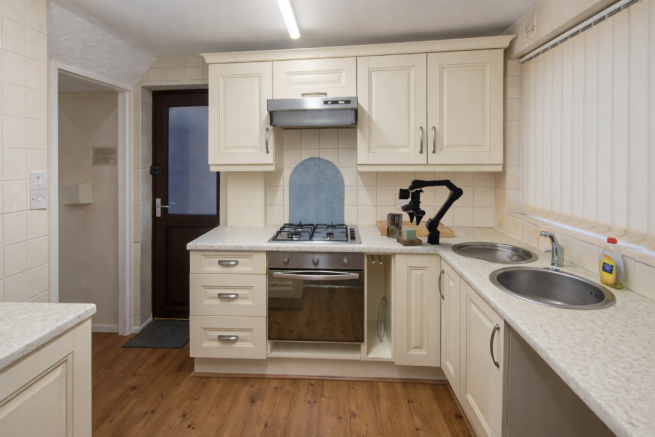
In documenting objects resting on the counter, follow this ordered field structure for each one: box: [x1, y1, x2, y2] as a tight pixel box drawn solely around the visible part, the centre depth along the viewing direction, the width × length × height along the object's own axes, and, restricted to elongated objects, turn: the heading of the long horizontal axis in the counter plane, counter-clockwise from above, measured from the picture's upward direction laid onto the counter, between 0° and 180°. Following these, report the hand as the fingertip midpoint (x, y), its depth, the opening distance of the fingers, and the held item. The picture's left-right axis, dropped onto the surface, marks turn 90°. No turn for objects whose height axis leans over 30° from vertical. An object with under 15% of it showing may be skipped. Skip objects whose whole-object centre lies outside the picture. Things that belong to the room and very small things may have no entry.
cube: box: [402, 227, 417, 240], centre depth 224 cm, size 6×6×6 cm
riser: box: [396, 236, 423, 247], centre depth 225 cm, size 12×12×3 cm
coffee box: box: [386, 212, 403, 239], centre depth 242 cm, size 9×6×16 cm
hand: (414, 224), depth 224 cm, fingers open, 9 cm apart
